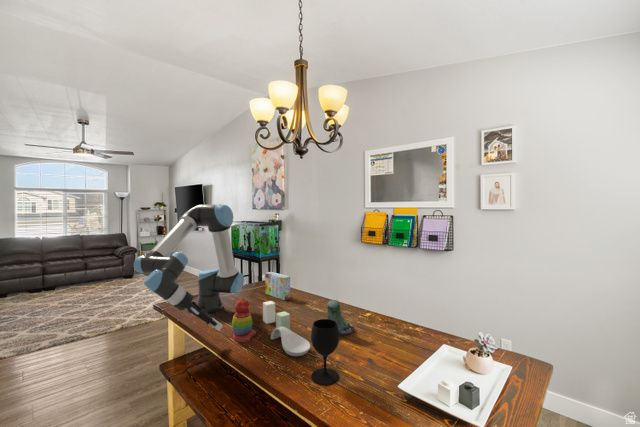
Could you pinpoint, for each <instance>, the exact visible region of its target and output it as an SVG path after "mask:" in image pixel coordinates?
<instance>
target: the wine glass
mask: <svg viewBox="0 0 640 427" xmlns="http://www.w3.org/2000/svg"><path fill="white" fill-rule="evenodd" d="M310 342H311V346H312V347H313V349H314V350H315V351H316V352H317V353H318V354H319V355H321V356H322V357H323V358H322V359H323V367H322V368H321V367H320V368H317V369H315V370H314V371H312V373H311V375H310V378H311V380H312V382H313V383H315V384H316V385H319V386H331V385H334V384H336V383H337V382H338V381H339V379H340V374H339V373H338V371H336V370H335V369H332V368H330V367H329V368H328V367H327V362H328V361H327V359H328V357H329V355H331V354H332V353H334V352H335V351H336V349H337V348H338V346H339V342H340V336H339V330H338V326H337V323H336V322H335V321H333V320H330V319H327V318H322V319H321V318H320V319H317V320H315V321H314V322H313V324H312V327H311V332H310Z"/></svg>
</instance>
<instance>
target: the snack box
mask: <svg viewBox="0 0 640 427" xmlns="http://www.w3.org/2000/svg"><path fill="white" fill-rule="evenodd" d="M264 276H265V280H264V281H265V288H264V290H265V292H264V293H265V295H268V296H271V297H273V298H277V299H280V300H282V301H286V300H287V301H288V300H290V299H291V276H289V275H284V274H282V273H279V272H278V273H277V272H273V271H269V272H265V275H264Z"/></svg>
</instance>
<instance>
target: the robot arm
mask: <svg viewBox="0 0 640 427" xmlns="http://www.w3.org/2000/svg"><path fill="white" fill-rule="evenodd" d="M233 223H234V213H233V211H232V208H231V207H230V206H228V205H226V204H221V203H220V204H219V203H218V204H197V205H195V206H194V207H191V208H190V209H188V210H187V211H186V212H184V213H183V214H182V215H181V216H180V217H179V220H178V222H177V224H175V225H174V227H173V228H171V229H170V230H169V231H168V233H166V234H165V235H164V237H162V239H161V240H160V241H159V242H158V243H157V244H156V245H155V246H154V247H153V248H152V249H151V250H150V251H149V252H148V253H147V254H146V255H140V256H137V257H136V259H135V260H134V262H133V268H134V270H135V272H137V273H139V274H145V275H146V274H149V275H147V277H146V278H145V280H144V281H143V285H144V286H145V287H146V288H147V289H149V290H150V291H151V292H153V293H155V294H156V295H157V296H159V297H160V298H162V299H163V300H164V301H165V303H166V304H170V305H172V306H173V307H174V308H175V309H177V310H178V311H180V312H182V311H185V309H186V310H187V312H189V313H190V314H192V315H193V316H195V317H197V318H198V319H200V320H201V321H203V322H205V323H206V324H205V325H207V326H208V325H210V326H211V327H212V328H214V329H216V330H217V331H218V332H221V330H222V328H223V327H224V325H223V324H222V323H221V322H219V321H218V320H216V319H215V318H214V317H213V314H211V313H215V312H219V311H221V310H222V309H223V308H224V306H223V305H224V304H223V301H222V298H221V296H220V293H221V294H231V295H232V294H238V293H240V292H241V290H242V288H243V286H244V281H245V277H244V274H243V273H241V272H239V269H238V267H237V266H235V265H236V264H235V260H234V259H235V258H234V253H233V249H232V243H231V237H230V236H231V235H230V231H229V230H230V228H231V226H232V225H233ZM199 227H207V229H208V232H209V233H211V234H212V238H213V244H214V248H215V255H216V257H217V258H216V259H217V263H218V264H217V265H218V268H211V269H206V270H203V271H201V272H199V273H198V279H197V280H198V281H197V282H198V299H197V302H196V301H193V300H194V296H193V294H191V293H190V292H189V291H187V290H186V289H185V288H184V287H182V286H181V285H179V284H178V283H177V282H176V280H177V279H178V278H179V277H180V275H181V273H182V272H183V271H184V270H185V269H186V266H187V264H188V263H189V258H188V257H187V255H186V254H185V253H183V252H179V251H176V252H174V251H175V250H176V249H177V248H178V247H179V245H181V243H182V242H183V241H184V240H185V238H186V237H187V236H188V235H189V234H190V233H191V232H192V231H195V230H196V229H197V228H199ZM173 252H174V253H173Z"/></svg>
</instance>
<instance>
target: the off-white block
mask: <svg viewBox="0 0 640 427" xmlns="http://www.w3.org/2000/svg"><path fill="white" fill-rule="evenodd" d="M262 321H263V323H264V324H267V325H269V324H272V323H276V302H275V301H273V300H268V301H264V302H262Z"/></svg>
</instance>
